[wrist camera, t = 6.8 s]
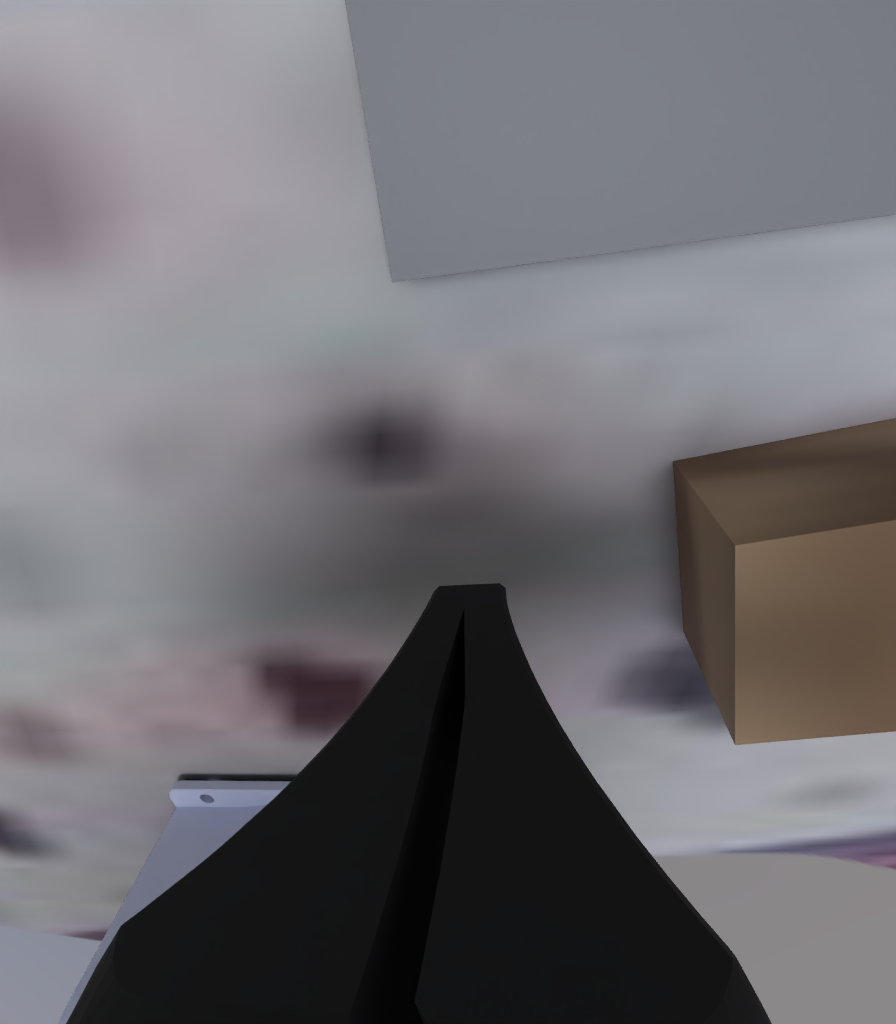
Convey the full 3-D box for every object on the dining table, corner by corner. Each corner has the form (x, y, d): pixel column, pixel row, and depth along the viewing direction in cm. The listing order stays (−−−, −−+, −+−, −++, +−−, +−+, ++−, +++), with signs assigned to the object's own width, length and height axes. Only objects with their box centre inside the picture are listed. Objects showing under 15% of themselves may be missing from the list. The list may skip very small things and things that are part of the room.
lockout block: (681, 627, 13) (734, 745, 10) (670, 457, 11) (735, 545, 8) (896, 599, 12) (1024, 719, 9) (933, 406, 10) (1118, 484, 7)
